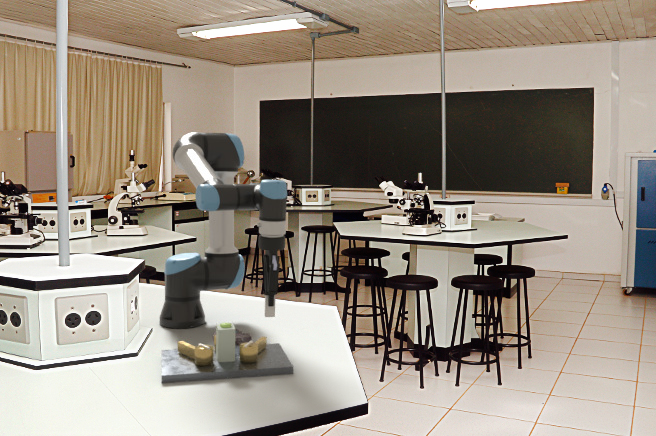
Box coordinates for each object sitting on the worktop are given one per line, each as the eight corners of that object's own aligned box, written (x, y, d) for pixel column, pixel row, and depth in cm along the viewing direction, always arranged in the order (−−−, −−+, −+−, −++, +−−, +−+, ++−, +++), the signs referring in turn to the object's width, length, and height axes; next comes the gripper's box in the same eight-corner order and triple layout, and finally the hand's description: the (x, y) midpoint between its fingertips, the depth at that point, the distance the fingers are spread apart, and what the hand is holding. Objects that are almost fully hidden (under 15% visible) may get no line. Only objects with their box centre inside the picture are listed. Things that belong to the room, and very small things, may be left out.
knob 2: (253, 363, 163) (254, 346, 162) (236, 361, 164) (236, 344, 164) (272, 347, 177) (272, 331, 176) (256, 345, 178) (256, 329, 178)
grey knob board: (161, 356, 172) (161, 336, 172) (279, 349, 181) (279, 330, 181) (161, 383, 153) (161, 360, 153) (293, 373, 162) (293, 352, 162)
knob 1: (217, 362, 163) (217, 345, 162) (201, 366, 159) (201, 349, 159) (187, 349, 173) (187, 333, 172) (172, 352, 169) (172, 336, 169)
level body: (216, 355, 169) (216, 321, 168) (232, 353, 171) (232, 320, 170) (217, 362, 164) (218, 327, 163) (235, 361, 165) (235, 326, 164)
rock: (249, 349, 181) (250, 334, 181) (211, 349, 181) (211, 334, 180) (252, 341, 189) (252, 327, 189) (215, 341, 189) (215, 326, 188)
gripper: (255, 231, 175) (253, 310, 179) (262, 238, 163) (260, 323, 166) (280, 231, 177) (278, 309, 181) (289, 238, 165) (287, 322, 168)
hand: (269, 316), depth 173 cm, fingers closed
